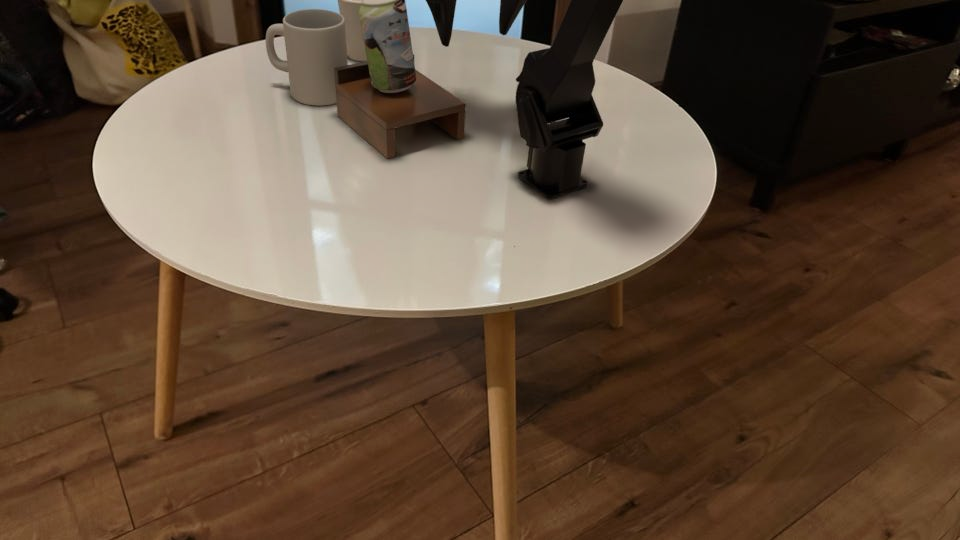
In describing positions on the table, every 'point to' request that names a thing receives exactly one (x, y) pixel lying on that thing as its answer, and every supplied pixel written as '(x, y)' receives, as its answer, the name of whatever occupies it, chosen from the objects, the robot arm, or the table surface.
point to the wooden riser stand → (393, 107)
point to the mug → (310, 53)
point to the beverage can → (387, 44)
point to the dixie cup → (353, 29)
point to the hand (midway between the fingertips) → (474, 39)
